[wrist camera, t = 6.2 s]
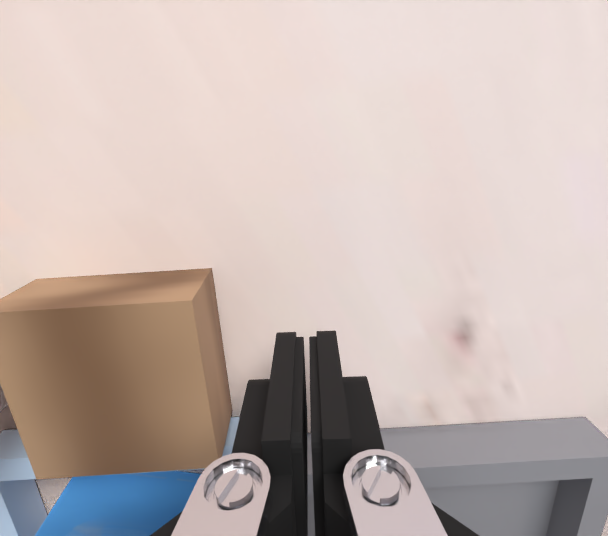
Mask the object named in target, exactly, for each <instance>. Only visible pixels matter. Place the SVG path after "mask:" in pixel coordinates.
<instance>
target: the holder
mask: <svg viewBox="0 0 608 536" xmlns="http://www.w3.org/2000/svg"><path fill="white" fill-rule="evenodd" d="M239 418H240V417H231V419H230V423H229V428H228V432H227V437H226V441H225V446H224V450H223V455H222V457H223V456H226V455H229V454H231V453H232V449H233V444H234V440H235V436H236V431H237V427H238V423H239ZM203 469H205V468H203ZM188 470H199V469H188ZM172 471H182V470H172ZM157 472H165V471H157ZM142 473H148V472H142ZM126 474H131V473H126ZM111 475H114V474H111ZM96 476H97V475H96ZM34 479H36V477H35V474H34V472H33V469H32V466H31V464H30V461H29V458H28V456H27V453H26V450H25V448H24V445H23V443H22V440H21V437H20V435H19V432H18V429H16V430H3V431H2V432H1V433H0V536H35V535H36V533H37V531H38V530H39V528H40V527H41V525H42V524H43V522H44V521H45V519H46V517H47V516H48V515H47V512H46V510H45V507H44V504H43V502H42V499H41V496H40V493H39V491H38V488H37V485H36V482H35V480H34Z"/></svg>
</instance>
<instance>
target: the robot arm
mask: <svg viewBox="0 0 608 536" xmlns="http://www.w3.org/2000/svg"><path fill="white" fill-rule="evenodd" d="M309 341H310V404H311V450H312V473H313V497H314V520H315V536H479V535H478V534H476V533H475V532H473V531H472V530H471V529H469V528H468V527H466V526H465V525H463V524H462V523H460V522H459V521H457V520H456V519H455V518H453V517H452V516H450V515H449V514H447V513H446V512H444V511H443V510H441V509H440V508H439V507H437V506H436V505H434V504H433V503H431V501H430V499H429V497H428V495H427V493H426V491H425V489H424V487H423V485H422V483H421V481H420V479H419V477H418V475H417V473H416V472H415V470H414V469H413V468H412V466H411V465H410V464H409V463H408V462H407V461H406V460H405V459H403V458H402V457H401V456H399V455H397V454H395V453H393V452H390V451H385V449H384V445H383V441H382V436H381V432H380V428H379V424H378V420H377V416H376V412H375V408H374V404H373V400H372V396H371V392H370V388H369V383H368V380H367V377H366V376H362V377H342V371H341V364H340V357H339V350H338V343H337V337H336V331H317V337H309ZM150 536H308V467H307V402H306V380H305V359H304V338H303V337H296V332H284V333H277V335H276V341H275V348H274V355H273V362H272V369H271V376H270V379H262V380H249V381H248V384H247V388H246V392H245V397H244V401H243V405H242V410H241V414H240V418H239V423H238V427H237V431H236V436H235V440H234V444H233V449H232V453H231V454H229V455H226V456H223V457H221V458H219V459H217V460H215V461H213V462H212V463H211V464H210V465H209V466H208V467H207V468H205V469H204V471H203V472H202V474H201V475H200V477H199V478H198V480H197V482H196V485H195V487H194V489H193V491H192V493H191V495H190V497H189V499H188V501H187V503H186V505H185V508H184V510H183V511H182V512H181V513H179V514H178V515H177V516H175V517H174V518H173V519H171V520H170V521H169V522H167V523H166V524H165V525H163V526H162V527H161V528H159V529H158V530H157V531H155V532H154V533H153V534H151V535H150Z"/></svg>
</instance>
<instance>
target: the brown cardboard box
mask: <svg viewBox="0 0 608 536" xmlns="http://www.w3.org/2000/svg"><path fill="white" fill-rule="evenodd" d="M0 384H1V387H2V390H3V392H4V395H5V398H6V400H7V403H8V406H9V408H10V411H11V414H12V416H13V419H14V421H15V424H16V427H17V429H18V432H19V435H20V437H21V440H22V443H23V445H24V448H25V450H26V453H27V456H28V458H29V461H30V464H31V466H32V469H33V472H34V474H35V477H36V479H49V478H65V477H80V476H96V475H111V474H126V473H142V472H157V471H172V470H188V469H203V468H207V467H208V466H209V465H210V464H211V463H212V462H213V461H215V460H217V459H219V458H221V457H222V455H223V450H224V446H225V441H226V437H227V432H228V428H229V423H230V419H231V414H232V405H231V398H230V391H229V384H228V377H227V370H226V363H225V356H224V349H223V342H222V335H221V328H220V321H219V314H218V307H217V300H216V293H215V286H214V280H213V273H212V268H207V269H191V270H175V271H159V272H143V273H127V274H111V275H95V276H79V277H63V278H47V279H36V280H34V281H32V282H31V283H29V284H27V285H25V286H23V287H22V288H20V289H18V290H16V291H14V292H12V293H11V294H9V295H7V296H5V297H3V298H2V299H0Z"/></svg>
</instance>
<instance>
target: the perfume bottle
mask: <svg viewBox="0 0 608 536" xmlns="http://www.w3.org/2000/svg"><path fill="white" fill-rule="evenodd" d="M200 475H201V474H198V473H190V472H181V471H165V472H148V473H131V474H114V475H97V476H80V477H72V479H71V480H70V482H69V483H68V485H67V486H66V488H65V490H64V491H63V493H62V494H61V496H60V497H59V499H58V500H57V502H56V503H55V505H54V507H53V508H52V510H51V511H50V513H49V514H48V516H47V517H46V519H45V521H44V522H43V524H42V525H41V527H40V528H39V530H38V531H37V533H36V535H35V536H150V535H151V534H153V533H154V532H155V531H157V530H158V529H159V528H161V527H162V526H163V525H165V524H166V523H167V522H169V521H170V520H171V519H173V518H174V517H175V516H177V515H178V514H179V513H181V512H182V511H183V510H184V508H185V505H186V503H187V501H188V499H189V497H190V495H191V493H192V491H193V489H194V487H195V485H196V482H197V480H198V478H199V477H200Z"/></svg>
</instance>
